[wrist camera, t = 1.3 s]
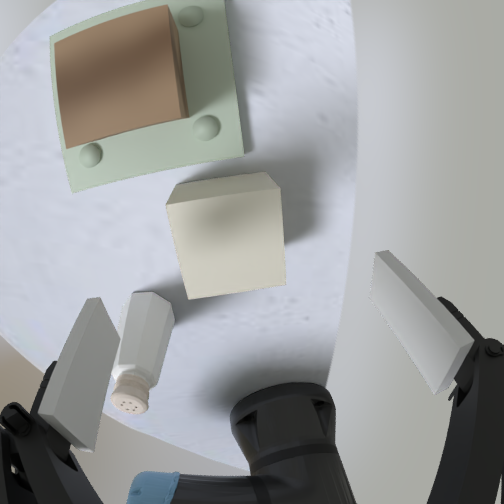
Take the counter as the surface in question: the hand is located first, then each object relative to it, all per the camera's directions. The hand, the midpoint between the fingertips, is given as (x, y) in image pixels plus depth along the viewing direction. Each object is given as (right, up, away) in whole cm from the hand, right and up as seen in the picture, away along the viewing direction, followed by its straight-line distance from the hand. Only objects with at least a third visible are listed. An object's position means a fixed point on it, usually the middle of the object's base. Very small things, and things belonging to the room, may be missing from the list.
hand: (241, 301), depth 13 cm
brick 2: (-2, +5, +11) cm, 12 cm away
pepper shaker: (-10, -4, +14) cm, 17 cm away
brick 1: (-8, +14, +4) cm, 17 cm away
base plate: (-8, +15, +5) cm, 17 cm away
